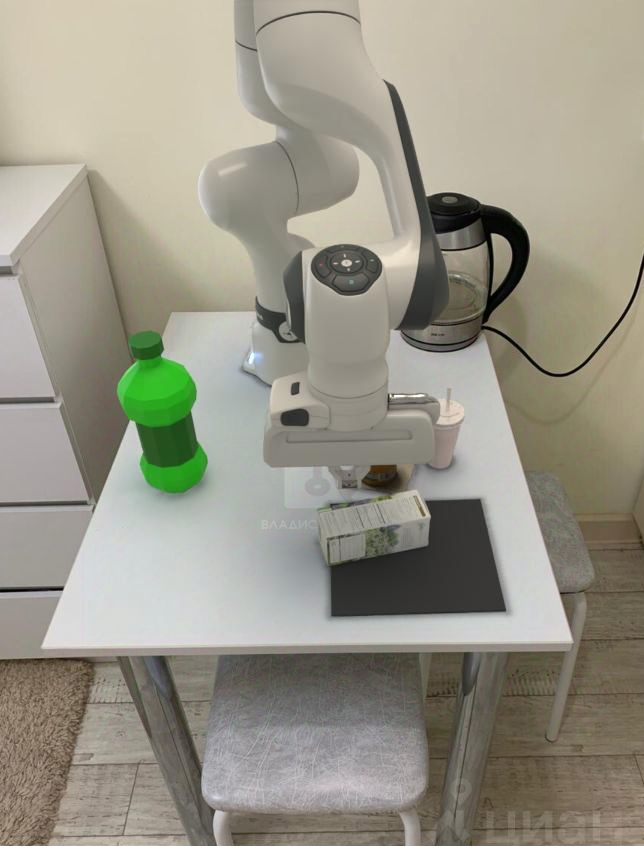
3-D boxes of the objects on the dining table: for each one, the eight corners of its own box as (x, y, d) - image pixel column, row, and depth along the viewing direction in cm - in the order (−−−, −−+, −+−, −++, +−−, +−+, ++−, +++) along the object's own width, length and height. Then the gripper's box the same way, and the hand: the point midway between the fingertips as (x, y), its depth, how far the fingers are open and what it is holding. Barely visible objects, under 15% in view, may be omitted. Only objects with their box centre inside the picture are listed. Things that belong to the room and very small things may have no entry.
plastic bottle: (187, 513, 105) (153, 369, 88) (130, 491, 109) (86, 349, 92) (225, 471, 112) (201, 329, 95) (170, 452, 115) (136, 312, 98)
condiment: (362, 455, 114) (362, 393, 106) (414, 465, 112) (418, 402, 104) (348, 485, 109) (346, 423, 101) (403, 497, 107) (406, 433, 98)
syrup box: (317, 537, 101) (416, 516, 103) (328, 568, 96) (430, 545, 99) (315, 508, 97) (418, 487, 99) (326, 539, 93) (433, 516, 95)
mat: (329, 504, 106) (329, 503, 106) (480, 500, 106) (480, 498, 106) (331, 616, 91) (331, 615, 91) (505, 611, 91) (506, 609, 91)
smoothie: (457, 476, 110) (466, 402, 100) (415, 471, 111) (420, 397, 101) (461, 449, 114) (470, 376, 105) (420, 445, 115) (425, 371, 106)
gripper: (438, 376, 83) (430, 466, 92) (259, 381, 83) (269, 470, 92) (445, 410, 78) (435, 501, 88) (255, 415, 78) (267, 505, 87)
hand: (349, 485), depth 90 cm, fingers closed
